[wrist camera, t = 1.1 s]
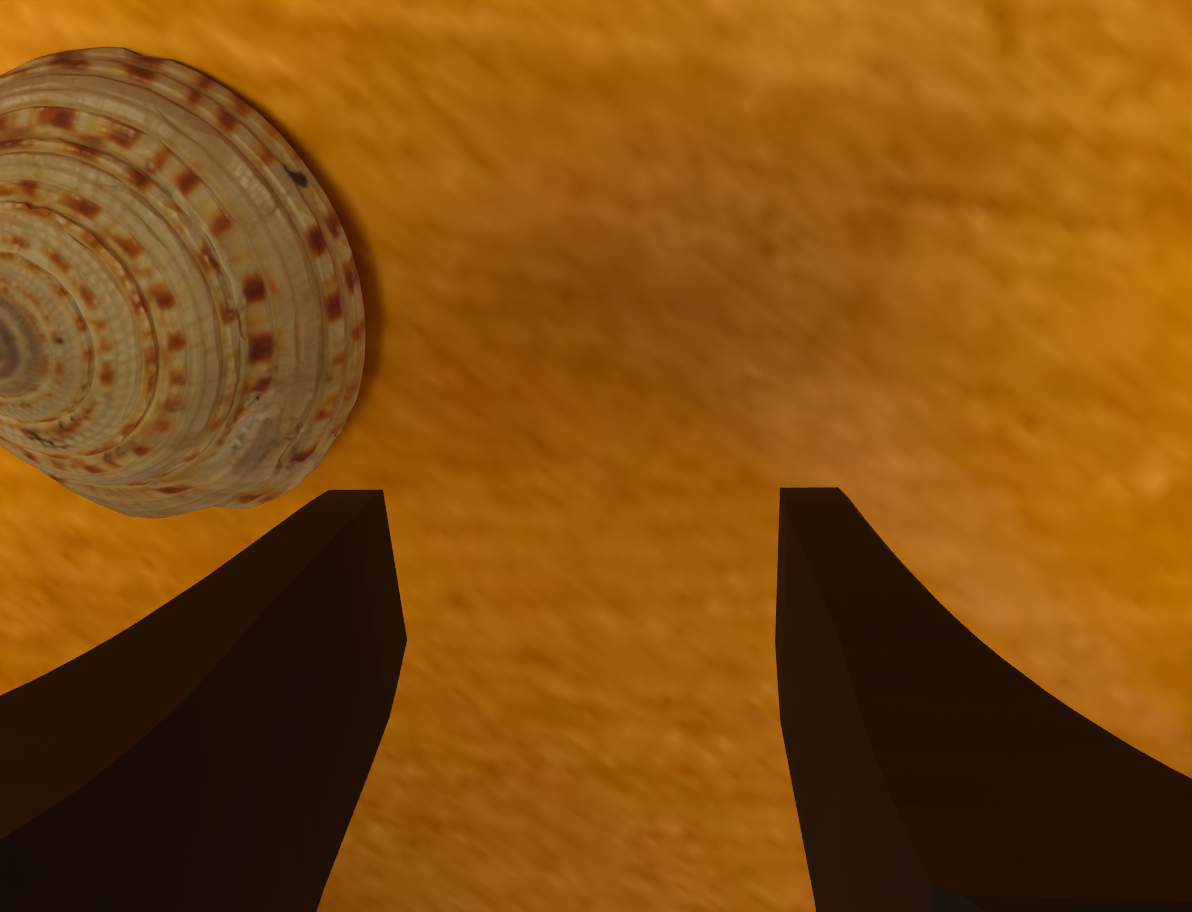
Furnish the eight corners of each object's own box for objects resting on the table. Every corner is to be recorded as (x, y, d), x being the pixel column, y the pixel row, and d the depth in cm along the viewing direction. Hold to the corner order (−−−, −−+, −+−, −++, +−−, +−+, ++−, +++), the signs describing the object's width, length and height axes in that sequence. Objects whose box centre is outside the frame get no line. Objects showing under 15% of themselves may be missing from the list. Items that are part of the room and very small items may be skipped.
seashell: (149, 620, 23) (-272, 412, 17) (178, 421, 27) (-162, 199, 21) (469, 430, 20) (86, 115, 15) (450, 238, 24) (140, -69, 18)
